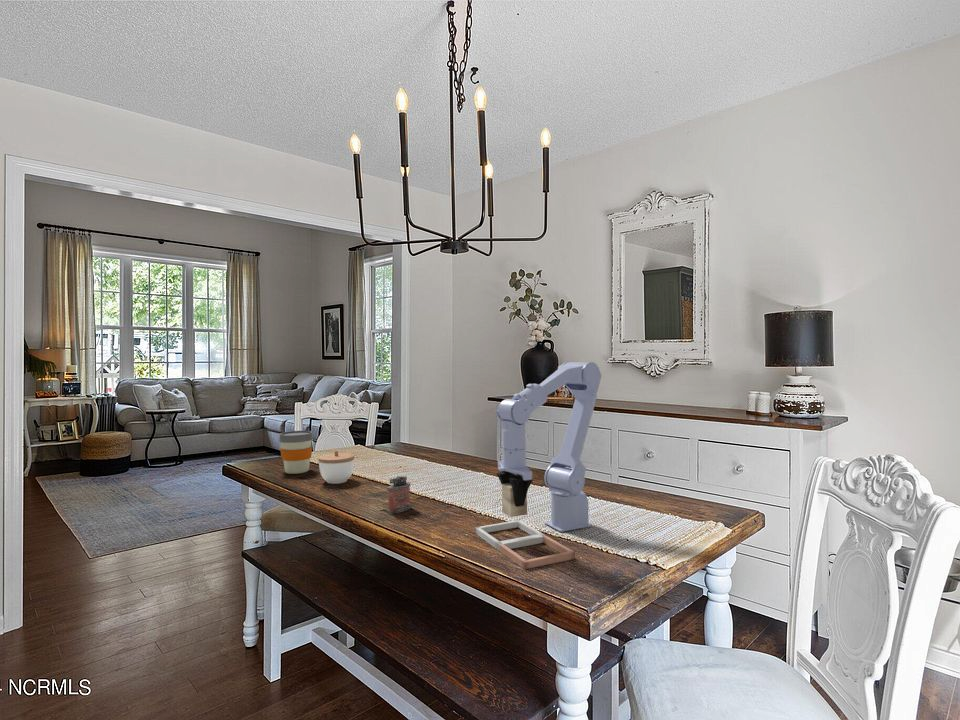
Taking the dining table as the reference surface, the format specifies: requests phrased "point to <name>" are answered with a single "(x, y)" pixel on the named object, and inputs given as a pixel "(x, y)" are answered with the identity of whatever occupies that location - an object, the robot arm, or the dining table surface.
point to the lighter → (398, 495)
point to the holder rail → (524, 544)
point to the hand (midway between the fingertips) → (514, 503)
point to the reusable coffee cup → (296, 450)
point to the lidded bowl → (336, 467)
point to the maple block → (511, 502)
